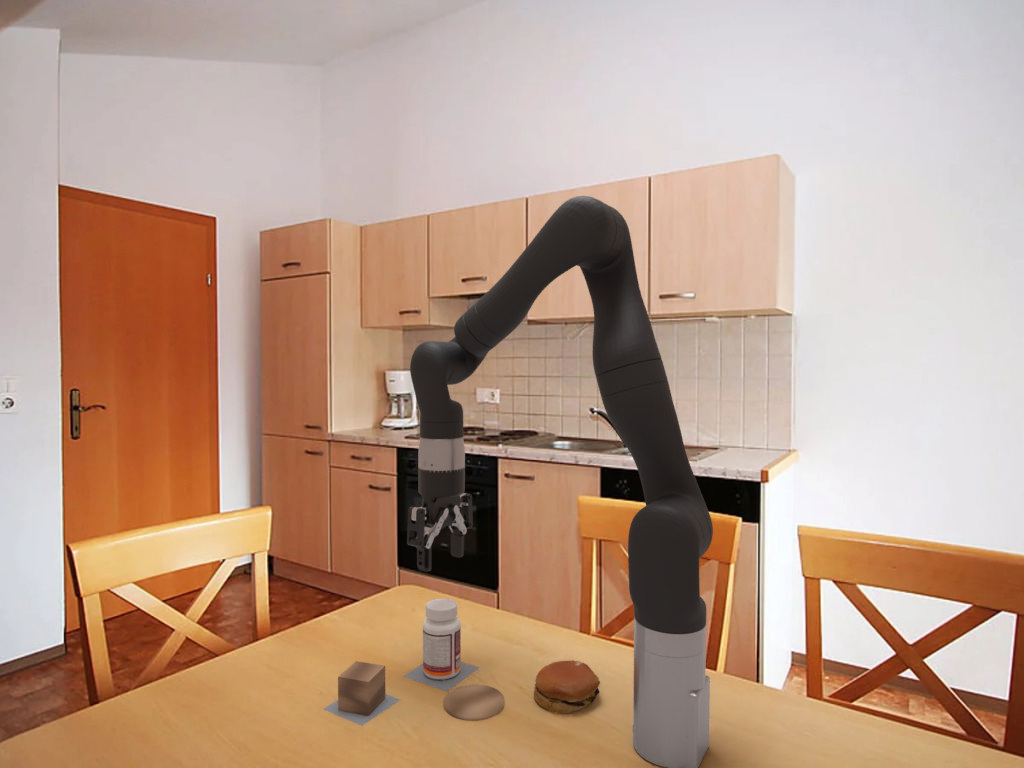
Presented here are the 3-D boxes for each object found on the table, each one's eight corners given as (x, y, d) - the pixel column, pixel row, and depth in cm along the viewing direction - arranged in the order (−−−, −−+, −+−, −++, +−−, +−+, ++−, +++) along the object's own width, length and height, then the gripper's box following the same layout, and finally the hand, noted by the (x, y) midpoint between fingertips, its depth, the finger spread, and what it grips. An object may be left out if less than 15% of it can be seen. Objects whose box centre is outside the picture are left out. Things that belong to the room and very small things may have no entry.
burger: (528, 711, 93) (529, 679, 92) (541, 680, 102) (541, 651, 101) (595, 721, 90) (596, 689, 90) (603, 688, 99) (603, 659, 99)
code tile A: (479, 668, 105) (479, 667, 105) (446, 692, 98) (446, 691, 98) (437, 654, 110) (437, 654, 110) (402, 676, 102) (402, 676, 102)
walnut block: (385, 698, 96) (385, 665, 95) (368, 715, 91) (368, 681, 91) (356, 693, 97) (355, 661, 97) (338, 710, 92) (338, 676, 92)
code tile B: (400, 700, 95) (400, 699, 95) (362, 726, 88) (362, 725, 88) (362, 685, 99) (362, 685, 99) (322, 709, 93) (322, 708, 93)
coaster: (515, 698, 96) (515, 694, 96) (481, 728, 88) (481, 723, 88) (467, 682, 100) (467, 678, 100) (431, 709, 93) (431, 705, 93)
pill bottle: (447, 659, 108) (447, 594, 108) (468, 673, 103) (468, 604, 103) (415, 670, 104) (415, 602, 104) (436, 685, 99) (435, 614, 99)
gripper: (431, 473, 94) (431, 580, 95) (485, 460, 106) (485, 555, 107) (394, 468, 98) (394, 571, 99) (450, 457, 110) (449, 548, 111)
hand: (441, 563), depth 103 cm, fingers open, 8 cm apart
